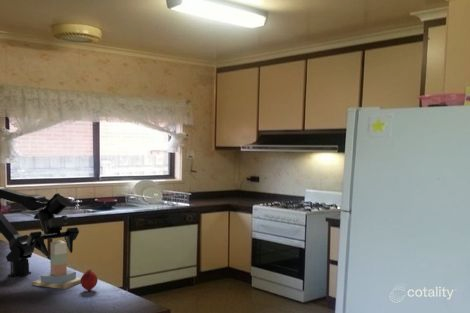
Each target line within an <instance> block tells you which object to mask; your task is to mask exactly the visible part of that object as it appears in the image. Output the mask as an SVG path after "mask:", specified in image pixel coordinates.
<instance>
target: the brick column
mask: <svg viewBox="0 0 470 313" xmlns="http://www.w3.org/2000/svg"><path fill="white" fill-rule="evenodd" d="M49 247H50V272H51V274H52V275H54V276H58V275H63V274H67V271H68V268H67V266H68V264H67V261H68V260H67V259H68V257H67V254H68V253H67V250H68V247H67V243H66V241H63V240H62V239H57V240H55V241H51V242H50V245H49Z"/></svg>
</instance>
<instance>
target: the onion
mask: <svg viewBox="0 0 470 313" xmlns="http://www.w3.org/2000/svg"><path fill="white" fill-rule="evenodd" d="M97 283H98V276H97V274H96V273H95V272H93V271H92V268H88V269H87V270H86V272H84V273H83V274H82V275H81V282H80V285H81V287H82V288H83V289H85V290H86V291H88V292H90V291H92V290H93V289H94V288H95V287H96V285H97Z"/></svg>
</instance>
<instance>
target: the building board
mask: <svg viewBox="0 0 470 313" xmlns="http://www.w3.org/2000/svg"><path fill="white" fill-rule="evenodd" d="M81 278H82V276H80V277H79V276H76V278H74V279H72V280H70V281H67V282H65V283H62V284H54V283H45V282H41V278H39V279H37V280H34V281H32V282H31V284H32V286H37V287H45V288H55V289H60V290H61V289H63V290H66V289H69V288H71V287H74V286H76V285H77V284H81Z"/></svg>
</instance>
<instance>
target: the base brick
mask: <svg viewBox="0 0 470 313" xmlns="http://www.w3.org/2000/svg"><path fill="white" fill-rule="evenodd" d="M76 277H77V271H74V270H73V271H71V270H67V274H63V275H58V276H54V275H52V274H51V271H50V272H47V273H44V274H41V275H40V279H41V282H45V283H54V284H62V283H65V282H67V281H70V280H72V279H74V278H76Z"/></svg>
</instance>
